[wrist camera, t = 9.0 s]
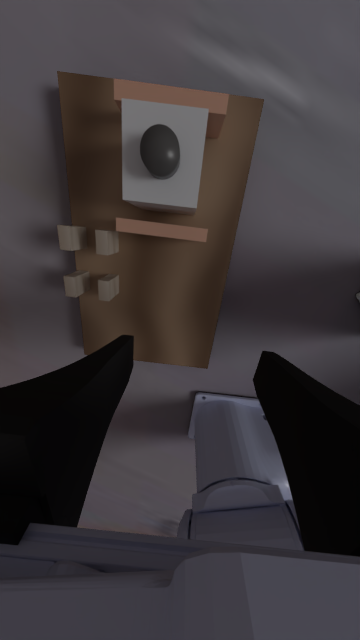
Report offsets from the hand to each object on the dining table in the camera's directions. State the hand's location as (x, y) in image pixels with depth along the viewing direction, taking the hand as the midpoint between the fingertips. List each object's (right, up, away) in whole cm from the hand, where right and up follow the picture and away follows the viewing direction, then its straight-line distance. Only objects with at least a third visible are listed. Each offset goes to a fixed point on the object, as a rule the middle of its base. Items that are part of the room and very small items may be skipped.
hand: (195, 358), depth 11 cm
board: (-3, +8, +7) cm, 11 cm away
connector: (-2, +12, +3) cm, 13 cm away
